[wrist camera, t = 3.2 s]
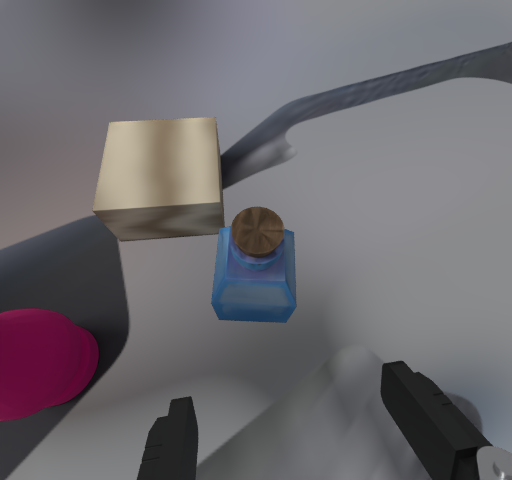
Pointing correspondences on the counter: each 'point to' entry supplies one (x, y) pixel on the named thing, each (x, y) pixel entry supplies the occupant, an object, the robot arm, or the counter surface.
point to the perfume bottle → (255, 269)
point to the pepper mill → (42, 361)
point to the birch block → (161, 179)
